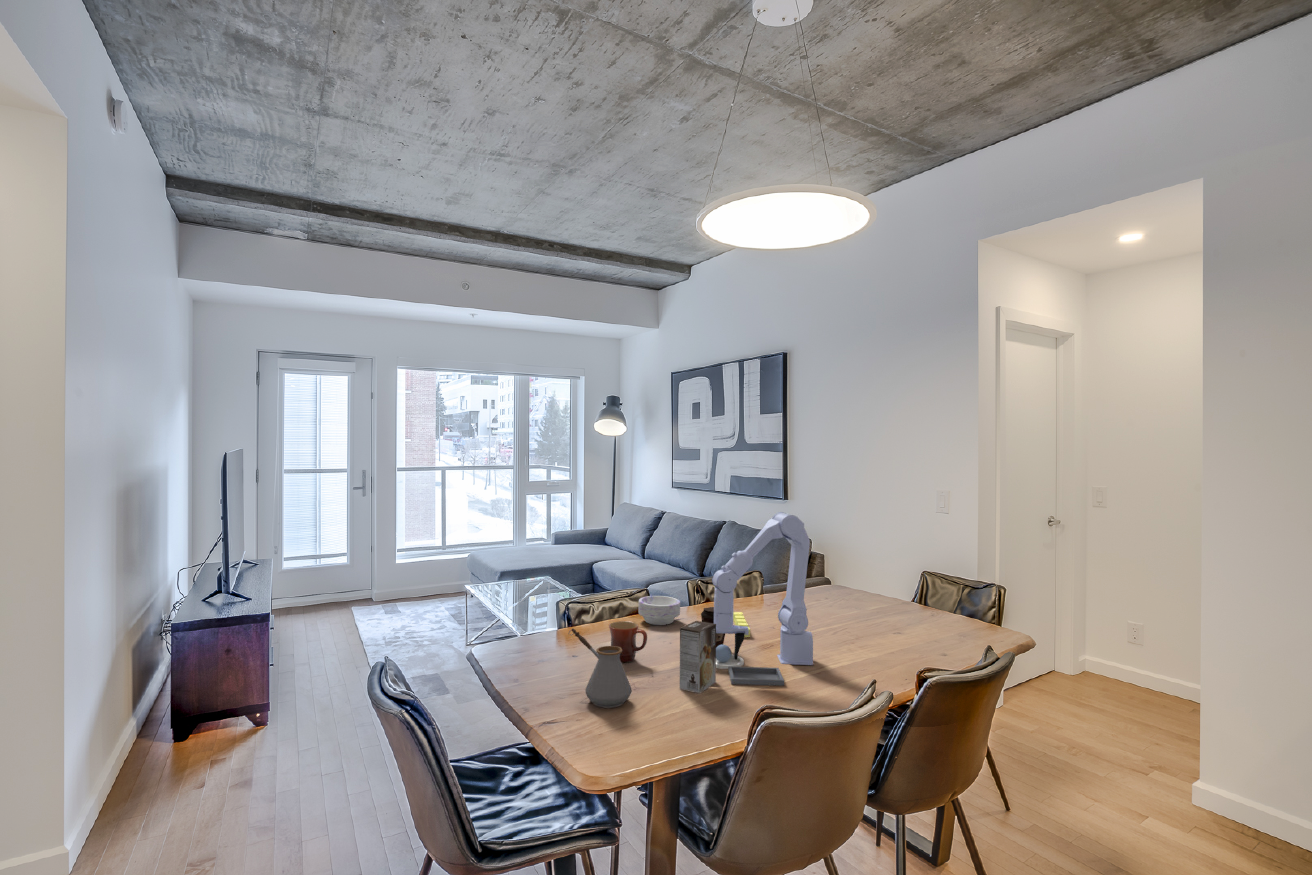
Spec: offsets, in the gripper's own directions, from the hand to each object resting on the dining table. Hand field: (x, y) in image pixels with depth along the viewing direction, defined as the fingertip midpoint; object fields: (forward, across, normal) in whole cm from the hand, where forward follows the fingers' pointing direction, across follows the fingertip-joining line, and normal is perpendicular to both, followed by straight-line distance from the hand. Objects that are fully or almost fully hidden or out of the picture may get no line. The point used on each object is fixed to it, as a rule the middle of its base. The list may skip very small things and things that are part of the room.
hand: (722, 658), depth 191 cm
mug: (+2, +28, 0) cm, 28 cm away
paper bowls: (+2, +20, -44) cm, 48 cm away
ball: (+1, 0, 0) cm, 1 cm away
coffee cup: (+2, +2, -12) cm, 12 cm away
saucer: (+2, 0, 0) cm, 2 cm away
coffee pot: (+2, +34, +28) cm, 44 cm away
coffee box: (+2, +8, +19) cm, 21 cm away
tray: (+2, -8, +13) cm, 15 cm away
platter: (+2, -11, -39) cm, 41 cm away
